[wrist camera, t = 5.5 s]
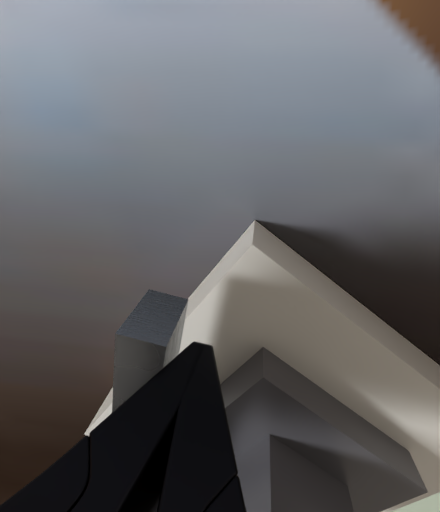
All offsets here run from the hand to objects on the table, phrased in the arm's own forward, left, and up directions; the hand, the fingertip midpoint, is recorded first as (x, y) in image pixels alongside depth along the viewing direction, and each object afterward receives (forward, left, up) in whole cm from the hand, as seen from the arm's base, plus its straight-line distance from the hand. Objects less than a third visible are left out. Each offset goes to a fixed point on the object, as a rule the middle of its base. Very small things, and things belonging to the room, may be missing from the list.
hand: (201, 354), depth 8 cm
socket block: (-4, -7, -6) cm, 10 cm away
